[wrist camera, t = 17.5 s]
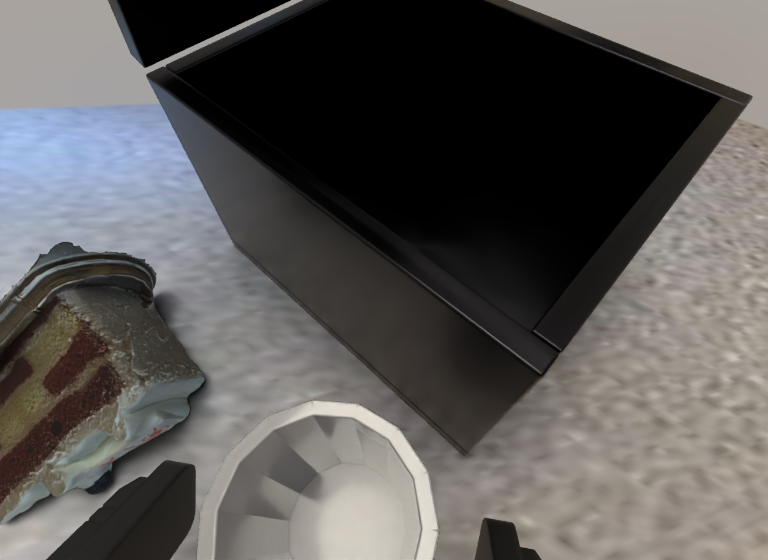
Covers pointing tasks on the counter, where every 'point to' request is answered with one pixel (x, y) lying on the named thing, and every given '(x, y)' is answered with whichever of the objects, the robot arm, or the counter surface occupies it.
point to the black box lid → (179, 23)
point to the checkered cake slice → (83, 373)
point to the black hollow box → (441, 179)
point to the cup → (320, 491)
